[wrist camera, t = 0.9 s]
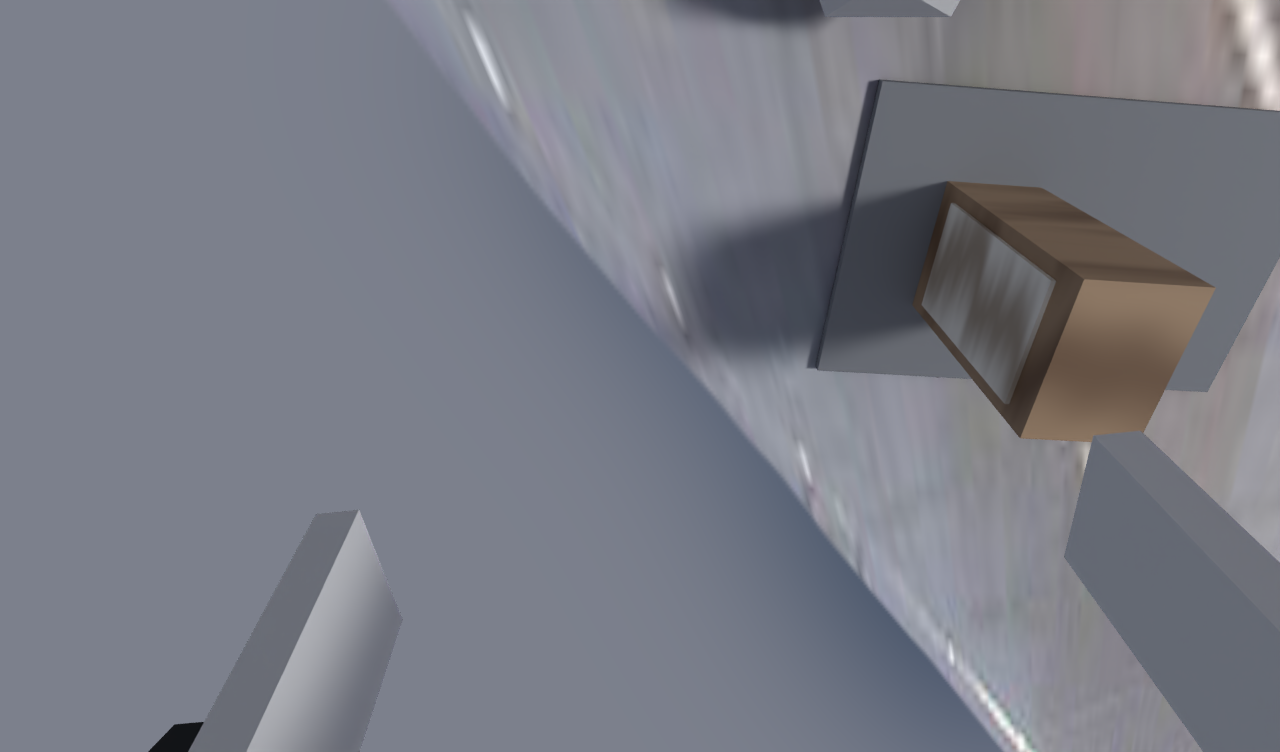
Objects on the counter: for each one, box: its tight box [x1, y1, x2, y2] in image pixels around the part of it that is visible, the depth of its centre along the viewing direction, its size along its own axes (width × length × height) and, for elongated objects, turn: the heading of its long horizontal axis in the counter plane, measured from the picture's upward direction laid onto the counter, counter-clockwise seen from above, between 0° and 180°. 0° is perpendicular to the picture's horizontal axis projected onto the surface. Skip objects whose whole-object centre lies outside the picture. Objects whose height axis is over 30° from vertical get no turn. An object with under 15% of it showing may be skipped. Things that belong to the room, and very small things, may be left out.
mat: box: [816, 80, 1280, 392], centre depth 40 cm, size 16×24×1 cm, turn 86°
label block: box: [912, 181, 1216, 442], centre depth 34 cm, size 7×5×13 cm
